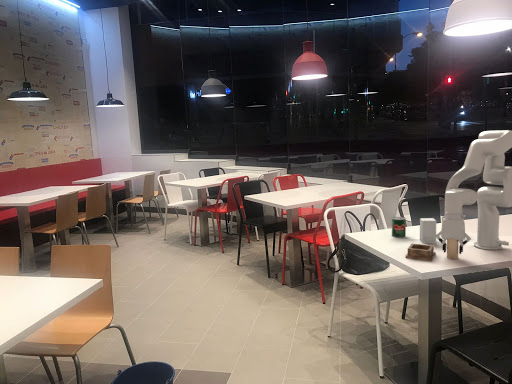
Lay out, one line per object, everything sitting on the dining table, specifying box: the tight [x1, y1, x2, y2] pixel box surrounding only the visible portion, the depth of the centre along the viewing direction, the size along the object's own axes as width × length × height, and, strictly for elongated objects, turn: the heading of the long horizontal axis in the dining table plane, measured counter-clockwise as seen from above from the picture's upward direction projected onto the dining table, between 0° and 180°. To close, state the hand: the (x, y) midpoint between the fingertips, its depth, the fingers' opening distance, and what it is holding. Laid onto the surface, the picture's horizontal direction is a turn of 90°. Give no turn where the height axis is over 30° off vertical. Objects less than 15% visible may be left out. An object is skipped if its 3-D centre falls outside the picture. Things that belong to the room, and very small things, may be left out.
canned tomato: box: [391, 216, 407, 239], centre depth 234 cm, size 8×8×11 cm
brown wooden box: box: [405, 243, 436, 262], centre depth 196 cm, size 12×12×4 cm
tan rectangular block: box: [446, 238, 460, 260], centre depth 191 cm, size 5×5×10 cm
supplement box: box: [419, 217, 437, 244], centre depth 220 cm, size 7×7×13 cm
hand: (452, 252), depth 191 cm, fingers open, 6 cm apart
